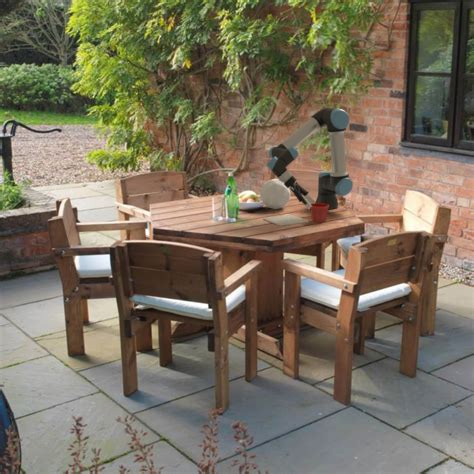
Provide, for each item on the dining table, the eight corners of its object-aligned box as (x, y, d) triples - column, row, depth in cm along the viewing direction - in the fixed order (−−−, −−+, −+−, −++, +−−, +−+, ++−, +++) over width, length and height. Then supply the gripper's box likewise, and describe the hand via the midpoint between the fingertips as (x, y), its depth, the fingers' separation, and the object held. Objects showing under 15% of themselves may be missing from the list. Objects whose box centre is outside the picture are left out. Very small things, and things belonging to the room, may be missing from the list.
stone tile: (291, 215, 448) (291, 214, 448) (308, 222, 433) (308, 220, 433) (263, 219, 438) (263, 218, 438) (279, 225, 423) (279, 224, 423)
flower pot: (327, 223, 431) (328, 207, 428) (308, 222, 433) (309, 206, 430) (328, 219, 441) (329, 203, 438) (310, 218, 443) (311, 202, 440)
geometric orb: (278, 216, 475) (294, 191, 477) (281, 212, 455) (297, 185, 457) (253, 201, 475) (269, 176, 477) (255, 196, 455) (272, 170, 457)
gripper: (286, 179, 447) (310, 205, 447) (279, 187, 423) (304, 214, 424) (295, 171, 444) (319, 197, 445) (288, 178, 421) (313, 205, 421)
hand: (311, 205), depth 434 cm, fingers open, 13 cm apart
